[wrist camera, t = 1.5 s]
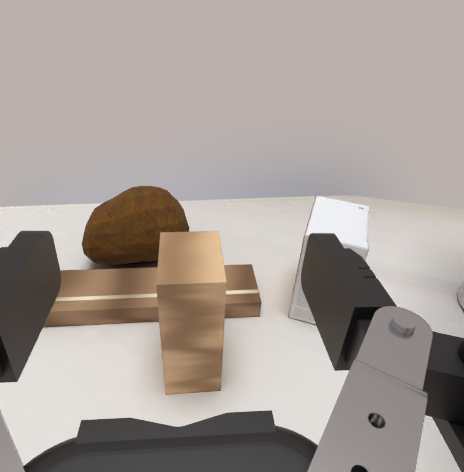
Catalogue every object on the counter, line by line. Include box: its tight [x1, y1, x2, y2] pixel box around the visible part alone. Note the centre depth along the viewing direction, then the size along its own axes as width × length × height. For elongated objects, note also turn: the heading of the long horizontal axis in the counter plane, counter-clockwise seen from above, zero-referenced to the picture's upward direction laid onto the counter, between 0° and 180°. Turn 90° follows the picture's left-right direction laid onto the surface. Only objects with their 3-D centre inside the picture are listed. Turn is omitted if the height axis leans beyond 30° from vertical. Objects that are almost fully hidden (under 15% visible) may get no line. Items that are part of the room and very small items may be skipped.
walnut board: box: [43, 264, 261, 327], centre depth 38 cm, size 26×6×2 cm, turn 97°
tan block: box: [156, 231, 227, 395], centre depth 32 cm, size 4×12×12 cm, turn 7°
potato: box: [82, 186, 189, 265], centre depth 43 cm, size 8×12×9 cm
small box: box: [288, 196, 370, 324], centre depth 37 cm, size 8×6×10 cm
